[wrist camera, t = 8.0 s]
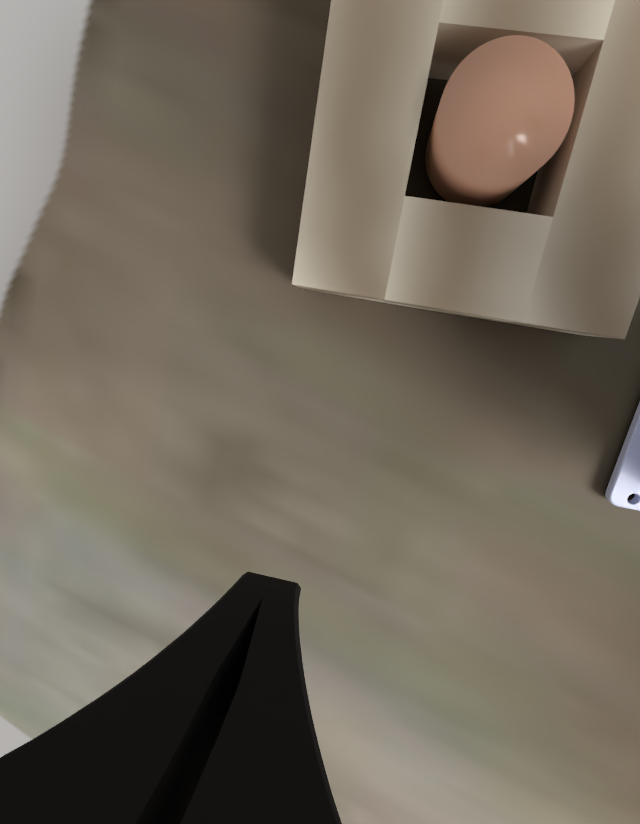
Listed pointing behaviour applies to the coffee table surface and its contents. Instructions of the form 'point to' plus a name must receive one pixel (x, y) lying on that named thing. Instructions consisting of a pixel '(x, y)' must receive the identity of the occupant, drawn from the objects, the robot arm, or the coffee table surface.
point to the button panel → (466, 224)
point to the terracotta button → (499, 120)
